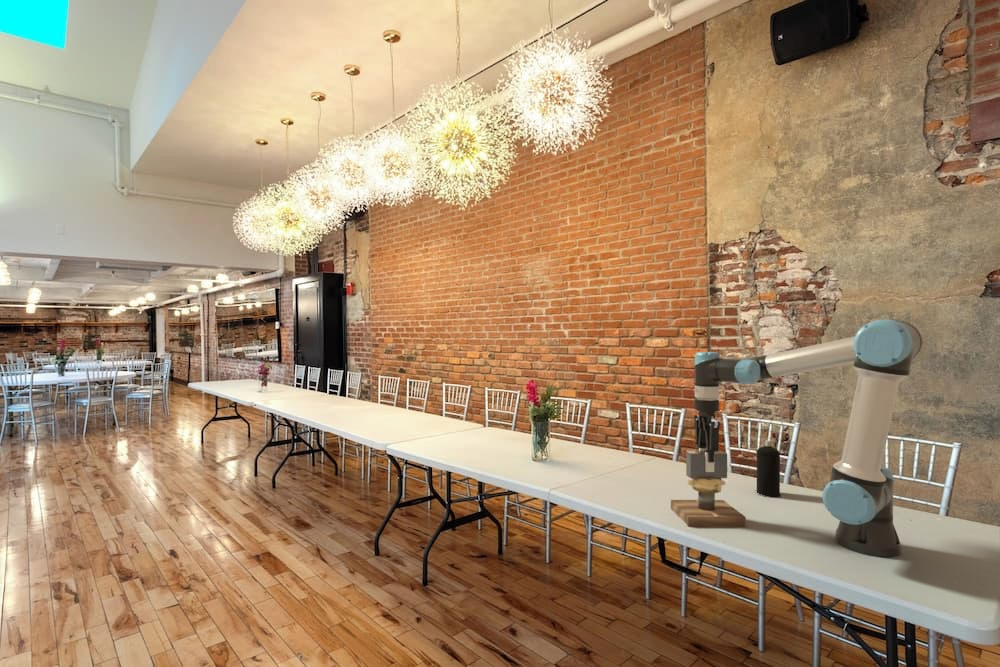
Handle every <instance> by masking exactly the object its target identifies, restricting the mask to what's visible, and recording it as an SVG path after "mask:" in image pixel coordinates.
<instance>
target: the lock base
mask: <svg viewBox="0 0 1000 667" xmlns="http://www.w3.org/2000/svg"><path fill="white" fill-rule="evenodd" d="M697 492H698V494H697V495H698V496H697V497H698V498H696V499H670V509H671V510H672V511H673V513H674V514H675V515H676V516H677V517H678V518H679V517H680V518H681V519H682V520H683V521H684V522H685V523H686V524H687V525H686V524H685V523H684V522H683V523H684V524H685V525H686V526H687V527H746V520H747V519H746V517H747V516H745V515H744V514H743V513H741V512H740V511H739V510H737V509H736V508H734V507H733V506H732V505H730V503H728V502H726V501H725V500H724V499H715V498H716V496H715V494H716V493H704V492H699V491H697ZM680 518H679V519H680ZM681 519H680V520H681ZM682 520H681V521H682Z"/></svg>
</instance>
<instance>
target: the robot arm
mask: <svg viewBox="0 0 1000 667" xmlns="http://www.w3.org/2000/svg"><path fill="white" fill-rule="evenodd" d="M922 347H923V337H922V333H920V331H919V330H918V329H917V328H916V327H915V325H913V324H911V323H910V322H907V321H904V320H898V319H884V318H881V319H876V320H873V321H870V322H868V323H866V324H864V325H862V326H861V327H860V328H859V329H858V330H857V332H856V333H855V335H854V336H852V337H846V338H841V339H836V340H832V341H827V342H823V343H817V344H813V345H808V346H804V347H799V348H793V349H788V350H784V351H780V352H775V353H771V354H765V355H760V356H755V357H750V358H748V357H747V358H722V357H720V352H717V351H698V352H696V353H695V356H694V365H693V366H694V389H693V392H694V397H695V399H694V410H695V411H696V412H698V414H695V415H694V418H693V419H694V427H695V431H694V432H695V436H694V438H695V445H696V446H697V447H698V451H705V472H714V452H716V451H719V445H720V444H719V442H720V441H719V440H720V427H721V421H718V420H716V412H719V411H720V401H719V398H720V383H731V384H733V383H734V384H741V385H754V384H757V383H758V381H763V380H767V379H773V378H778V377H783V376H788V375H789V376H790V375H795V374H796V375H797V374H801V373H806V372H807V373H808V372H813V371H818V370H825V369H830V368H836V367H842V366H849V365H853V369H854V370H855V371H856V372H857V373H858V374H857V375H858V376H857V383H856V388H855V392H854V396H853V403H852V407H851V411H850V416H849V421H848V425H847V430H846V436H845V439H844V445H843V450H842V455H841V460H839V461H836V462H834V463H833V465H832V470H831V474H830V478H829V482H828V483H827V484H826V485H825V486H824V488H823V491H822V502H823V506H824V507H825V508H826V509H827V511H828V512H829V514H830V515H831V516H832V517H833V518H835V519H836V520H838V521H839V523H838V526H837V528H836V529H835V541H836V542H837V543H838V544H839V545H840V546H842V547H845V548H847V549H849V550H851V551H854V552H858V553H861V554H863V555H869V556H870V555H871V556H874V557H875V556H876V557H896V556H899V555H900V554H901V553H902V544H901V541H900V538H899V536H898V533H897V530H896V527H895V525H894V482H895V479H894V473H893V471H892V470H891V469H890V468H888V467H885V466H882V464H883V459H884V455H885V450H886V444H887V441H888V436H889V432H890V427H891V423H892V422H891V421H892V417H893V413H894V408H895V404H896V401H897V400H896V399H897V395H898V390H899V386H900V382H901V381H904V380H905V379H906V378H908V377H909V376H910V375H909V374H910V371H911V366H912V362H913V359H914V358H915V357H917V356H918V355H919V353H920V352H921V350H922Z"/></svg>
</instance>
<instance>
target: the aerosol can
mask: <svg viewBox="0 0 1000 667" xmlns="http://www.w3.org/2000/svg"><path fill="white" fill-rule="evenodd" d="M755 452H756V491H757V493H759V494H762V495H765V496H764V497H766V496H769V497H768V498H779V497H781V492H780V490H781V488H780V487H781V484H780V483H781V480H780V479H781V464H780V463H781V452H780V451H779V450H778V449H777V448H775V447H773V446H772V440H769V439H768V440H767V439H766V440H765V444H764V446H760V447H759V448H757V449H756V450H755ZM757 493H756V494H757ZM759 494H758V495H759Z"/></svg>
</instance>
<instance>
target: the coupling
mask: <svg viewBox="0 0 1000 667" xmlns="http://www.w3.org/2000/svg"><path fill="white" fill-rule="evenodd" d="M685 455H686V458H685V461H686V462H685V464H686V467H685V468H686V469H685V474H686V475H685V476H687V477H688V478H690V479H691V480H690V479H688V480H687V485H688V486H691V488H692V490H693V491H696V492H698V491H699V492H704V493H715V494H718V493H721V492H722V486H726V481H725V480H723V479H728V453H726V452H725V451H722V450H718V451H716V452H714V472H705V451H699V450H686V453H685Z"/></svg>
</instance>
